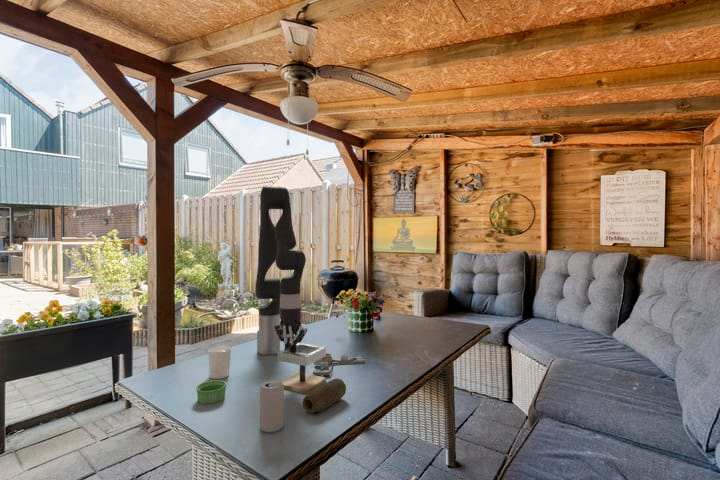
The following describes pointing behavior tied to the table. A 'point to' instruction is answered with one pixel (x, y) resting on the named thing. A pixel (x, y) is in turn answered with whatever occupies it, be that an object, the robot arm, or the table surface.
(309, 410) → the brown cylinder
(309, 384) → the wooden board with peg
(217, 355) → the white cup
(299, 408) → the table surface
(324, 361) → the pulley system
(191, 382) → the table surface
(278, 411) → the beverage can
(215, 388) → the ramekin
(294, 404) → the table surface
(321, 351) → the link
